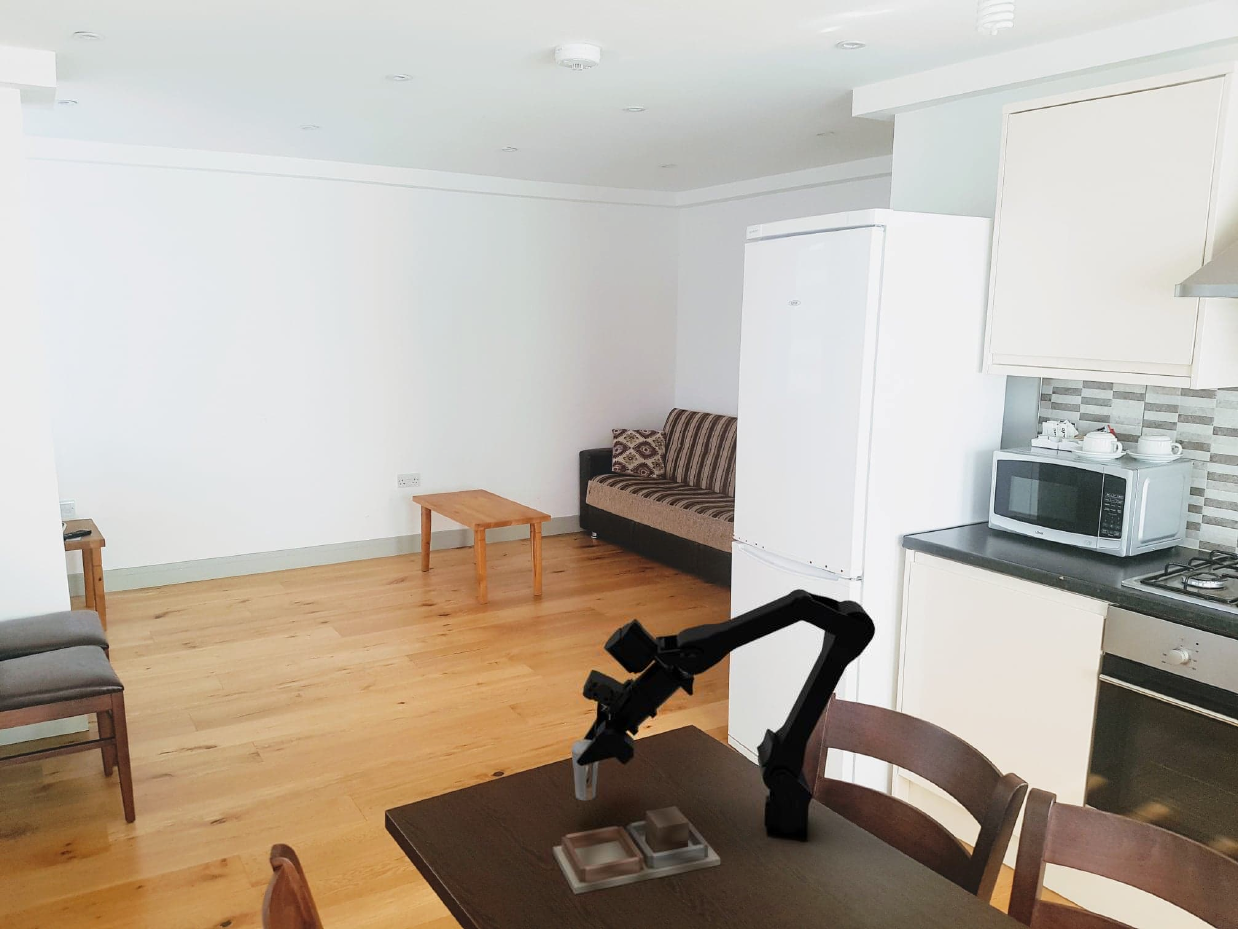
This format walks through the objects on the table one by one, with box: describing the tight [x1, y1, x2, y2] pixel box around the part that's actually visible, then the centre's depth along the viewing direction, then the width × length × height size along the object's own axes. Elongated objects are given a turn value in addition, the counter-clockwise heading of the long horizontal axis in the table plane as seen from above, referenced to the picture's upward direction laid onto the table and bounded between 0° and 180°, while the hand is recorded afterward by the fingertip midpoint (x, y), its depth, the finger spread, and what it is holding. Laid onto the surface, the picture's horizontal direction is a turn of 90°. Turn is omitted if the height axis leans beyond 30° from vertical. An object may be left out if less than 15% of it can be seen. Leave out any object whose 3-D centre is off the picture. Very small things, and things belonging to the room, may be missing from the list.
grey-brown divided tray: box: [552, 805, 721, 895], centre depth 141 cm, size 23×11×6 cm, turn 110°
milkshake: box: [570, 738, 599, 801], centre depth 150 cm, size 4×5×10 cm
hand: (579, 756), depth 149 cm, fingers closed on milkshake, 4 cm apart
